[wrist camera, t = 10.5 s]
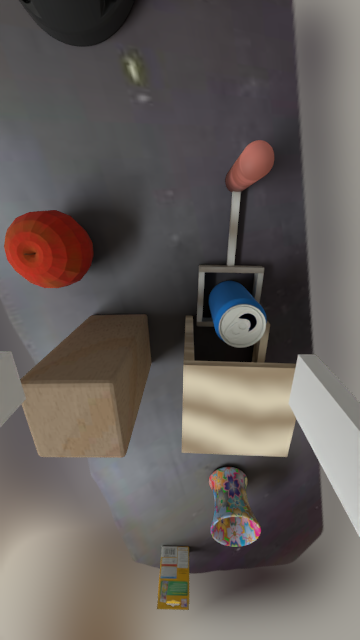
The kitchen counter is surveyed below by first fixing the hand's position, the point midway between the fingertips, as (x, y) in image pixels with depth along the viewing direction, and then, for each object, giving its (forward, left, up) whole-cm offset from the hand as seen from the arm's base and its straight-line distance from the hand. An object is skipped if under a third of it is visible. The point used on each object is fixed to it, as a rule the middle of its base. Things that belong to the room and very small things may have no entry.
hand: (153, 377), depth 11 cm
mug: (+48, +12, -30) cm, 57 cm away
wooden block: (+13, -10, -30) cm, 34 cm away
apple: (-3, -17, -30) cm, 35 cm away
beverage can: (+4, +8, -30) cm, 31 cm away
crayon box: (+75, 0, -30) cm, 80 cm away
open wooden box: (+14, +8, -30) cm, 34 cm away
